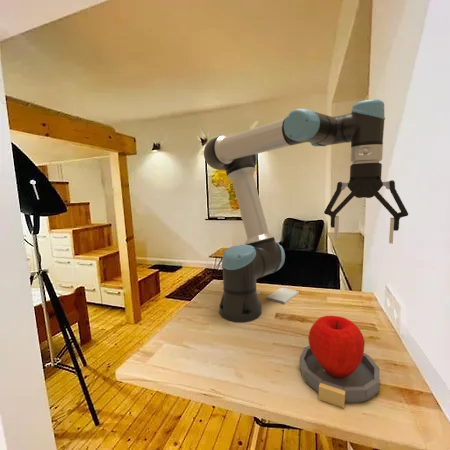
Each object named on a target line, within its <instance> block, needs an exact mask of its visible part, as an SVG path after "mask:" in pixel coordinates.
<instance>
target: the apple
mask: <svg viewBox="0 0 450 450" xmlns="http://www.w3.org/2000/svg"><path fill="white" fill-rule="evenodd" d="M308 344H309V345H310V348H311V351H312V353H313V355H314V357H315V358H316V359H317V361H318V362H319V363H320V365H321V366H322V367H323V368H324V370H325V371H326V372H327V373H328V374H330V375H331V376H333V377H335V378H345V377H348V376H349V375H351V374H352V373H353V372H354V371H355V370H356V369H357V367H358V366H359V364H360V362H361V360H362V358H363V353H365V352H364V351H365V338H364V335H363V333H362V331H361V330H360V328H359V326H357V325H356V324H355V323H354V322H353V321H351V320H350V319H348V318H345V317H343V316H339V315H325V316H320V317H319V318H317V320H316V321H315V322H314V323H313V324H312V326H311V328H310V329H309V332H308ZM309 345H308V346H309Z"/></svg>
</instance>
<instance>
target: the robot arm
mask: <svg viewBox="0 0 450 450" xmlns="http://www.w3.org/2000/svg"><path fill="white" fill-rule="evenodd" d="M351 108H352V109H351V112H350V113H347V114H343V115H336V116H330V115H327V114H323V113H321V112H318V111H314V110H312V109H310V108H309V109H308V108H296V109H292V110H291V111H290V112H289V113H288V114H287V116H286V117H285V118H281V119H279V120H275V121H273V122H269V123H266V124H262V125H260V126H257V127H254V128H250V129H247V130H244V131H243V132H242V131H241V132H238V133H236V134H233V135H230V136H228V135H220V136H217V137H214V138H212V139H210V140H209V141H208V142H207V143H206V145H205V146H204V149H203V159H204V160H205V163H206V164H207V165H208V166H209V167H210V168H212V169H214V170H217V171H225V174H226V177H227V179H229V180H231V182H232V185H233V189H234V192H235V197H236V200H237V204H238V208H239V212H240V216H241V219H242V223H243V227H244V230H245V235H246V241H245V242H244V244H239V245H233V246H229V247H228V248H226V249H225V250H224V251H223V253H222V261H221V265H222V280H223V281H222V283H223V284H222V285H223V293H222V294H221V299H220V303H219V314H220V316H221V317H222V318H223V319H225V320H228V321H232V322H237V323H239V322H240V323H242V322H244V323H245V322H250V321H253V320H255V319H257V318H260V316H261V315H262V311H263V310H262V303H261V300H260V298H259V295H258V292H257V280H258V279H261V278H263V277H265V276H267V275H270V274H271V275H272V274H274V273H275V272H278V271H279V270H280V269H281V268H282V267H283V266H284V264H285V259H286V254H285V249H284V248H283V246H282V245H280V243H279V242H277V241H276V240H275V239H276V238H275V236H274V235H272V234H271V233H270V232H269V229H268V225H267V220H266V218H265V214H264V210H263V206H262V202H261V200H260V199H261V198H260V196H259V192H258V188H257V184H256V181H255V176H254V173H255V172H256V167H257V166H256V165H257V163H258V162H257V161H259V159H258V158H259V155H258V154H260V153H266V152H269V151H273V150H277V149H282V148H286V147H291V146H294V145H295V146H296V145H299V144H304V143H309V144H310V145H311V146H312V147H326V146H332V145H339V144H345V143H350V144H351V145H350V146H351V147H350V163H352V164H350V166H349V181H348V182H342V181H339V182H337V183H336V184H337V185H336V189H335V192H334V194H333V195H332V197H331V198H330V201H329V202H328V204H327V206H326V208H325V210H324V213H323V214H324V215H328V216H329V217H330V227H331V228H334V233H333V234H334V235H333V237H334V239H333V240H334V241H335V240H336V241H337V240H338V239H339V231H340V230H339V227H340V225H339V224H340V216H339V215H338V214H339V212H341V211H342V209H343V208H344V207H345V206H346V205H347V204H349V203H350V201H351V200H352V199H354V197H355V198H357V199H361V198H365V199H371V198H373V197H374V198H376V199H377V200H378V201H379V203H380V204H381V205H382V206H383V207H384V208H385V209H386V211H387V212H389V214H390V215H391V216H392V217H390V220H389V221H390V222H389V237H388V239H389V240H388V243H389V244H393V242H394V232H397V231H399V228H400V219H401V218H404V217H408V216H409V211H408V210H407V208H406V207H405V204H404V202H403V200H402V199H401V197H400V195H399V193H398V191H397V189H396V181H394V180H392V179H391V180H389V181H388V180H387V181H382V169H383V164H382V163H381V161H382V160H383V154H384V153H383V151H384V145H383V144H384V131H385V130H384V129H385V120H386V117H385V103H384V101H383V100H381V99H376V98H375V99H372V98H371V99H365V100H361V101H359V102H358V101H357V102H355V103H354V104H353V105H352V107H351ZM346 187H347V188H348V190H349V191H350V193H348V195H347V196H346V197H345V198H344V199H343V200H342V201H341V203H340V204H339V205H338V206H337V207H336V208H335V209H334V210H332V209H333V207H334V206H335V204H336V203H337V200H338V198H339V196H340V195H341V193H342V191H344V190H345V189H346ZM382 187H385V189H386V190H389V191H390V193H391V196H392V197H393V199H394V202H395V203H396V204H397V207H398V208H399V211H400V212H398V211H397V210H396V209H395V208H394V207H393V206H392V205H391V204H390V203H389V202H388V200H386V198H385V197H383V195H382V194H381V193H380V192H379V191H380V190H381V189H382Z"/></svg>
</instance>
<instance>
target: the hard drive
mask: <svg viewBox="0 0 450 450" xmlns="http://www.w3.org/2000/svg"><path fill="white" fill-rule="evenodd" d="M299 293H300V291H298V290H295V289H290V288H288V287H279V288H278V289H276V290H274V292H272V293H270V294H269V295H268V296H266V297H265V299H266V300H268V301H271V302H274V303H277V304H281V305H286V304H288V303H289V302H290V301H291V300H293V299H294V298H295V297H296V296H298V295H299Z"/></svg>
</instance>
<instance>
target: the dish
mask: <svg viewBox="0 0 450 450" xmlns="http://www.w3.org/2000/svg"><path fill="white" fill-rule="evenodd" d="M299 367H300V373H301V376H302V378H303V380H304V382H305V383H306V384H307V385H308V386H309V387H310V388H311V389H312V390H314V391H315V392H316V393H318V400H319V401H323V402H326V403H328V404H331V405H334V406H337V407H339V408H343V409H345V406H346V404H361V403H365V402H368V401H370V400H372V399H373V398H374V397H375V396H377V394H378V392H379V390H380V372H381V371H380V367H379V365H377V363H376V362H375V361H374V359H373V358H372V357H370V355H368V354H367V353H365V352H364V353H363V358H362V360H361V362H360V364H359V366H358V367H357V369H356V370H355V371H354V372H353V373H352V374H351V375H349V376H348V377H345V378H335V377H333V376H331V375H330V374H328V373H327V372H326V371H325V370H324V368H323V367H322V366H321V365H320V363H319V362H318V361H317V359H316V358H315V357H314V355H313V353H312V351H311V348H310V345H307V346H305V347H304V348H303V350H302V352H301V353H300V356H299Z"/></svg>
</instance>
